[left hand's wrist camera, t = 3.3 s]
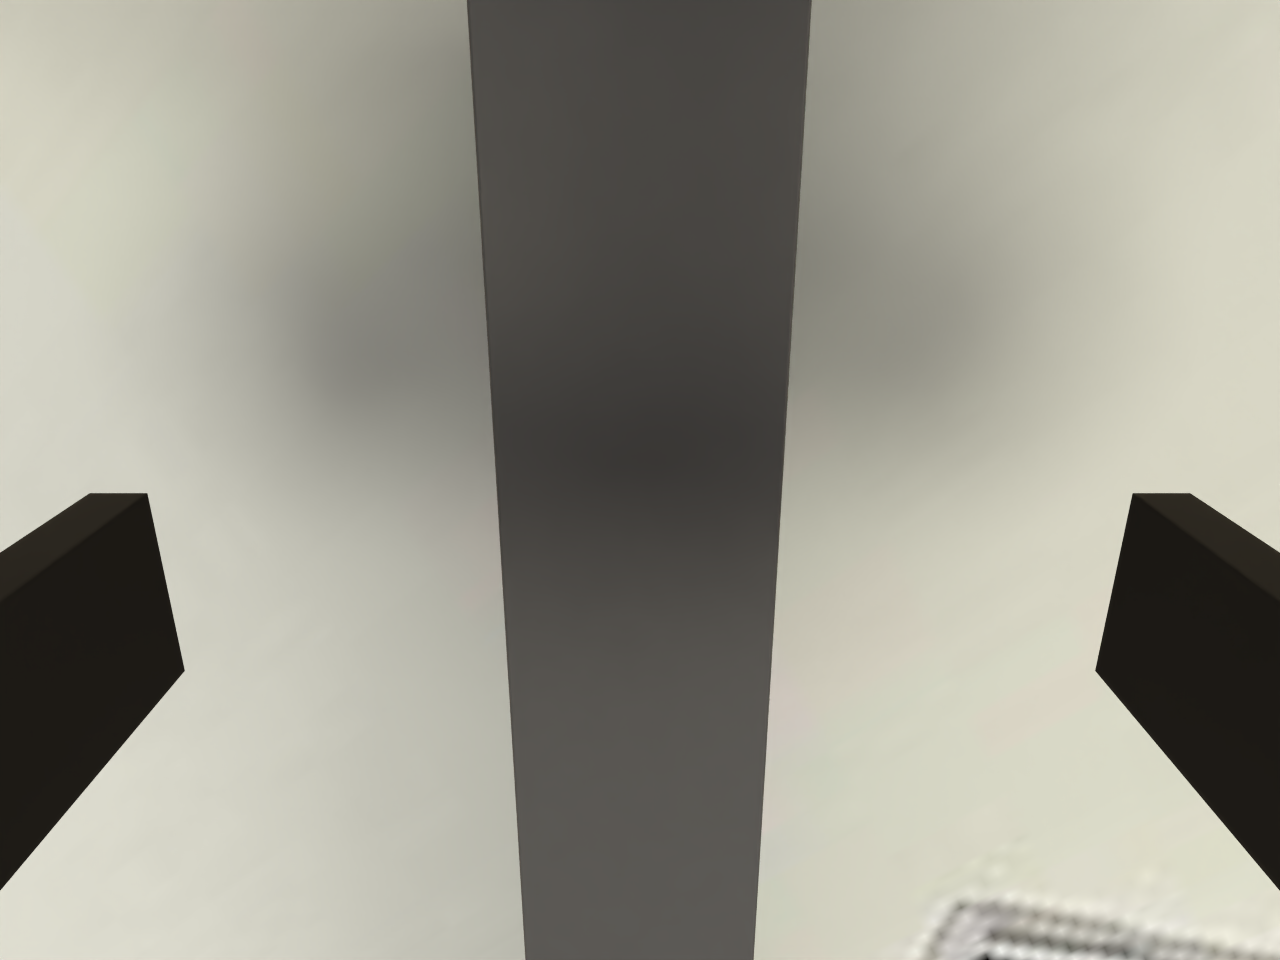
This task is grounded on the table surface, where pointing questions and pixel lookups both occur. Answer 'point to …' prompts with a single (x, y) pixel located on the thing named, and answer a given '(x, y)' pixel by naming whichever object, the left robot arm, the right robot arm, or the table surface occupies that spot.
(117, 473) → the table surface
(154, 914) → the table surface
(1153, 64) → the table surface
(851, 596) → the table surface
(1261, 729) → the left robot arm
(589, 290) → the bar
